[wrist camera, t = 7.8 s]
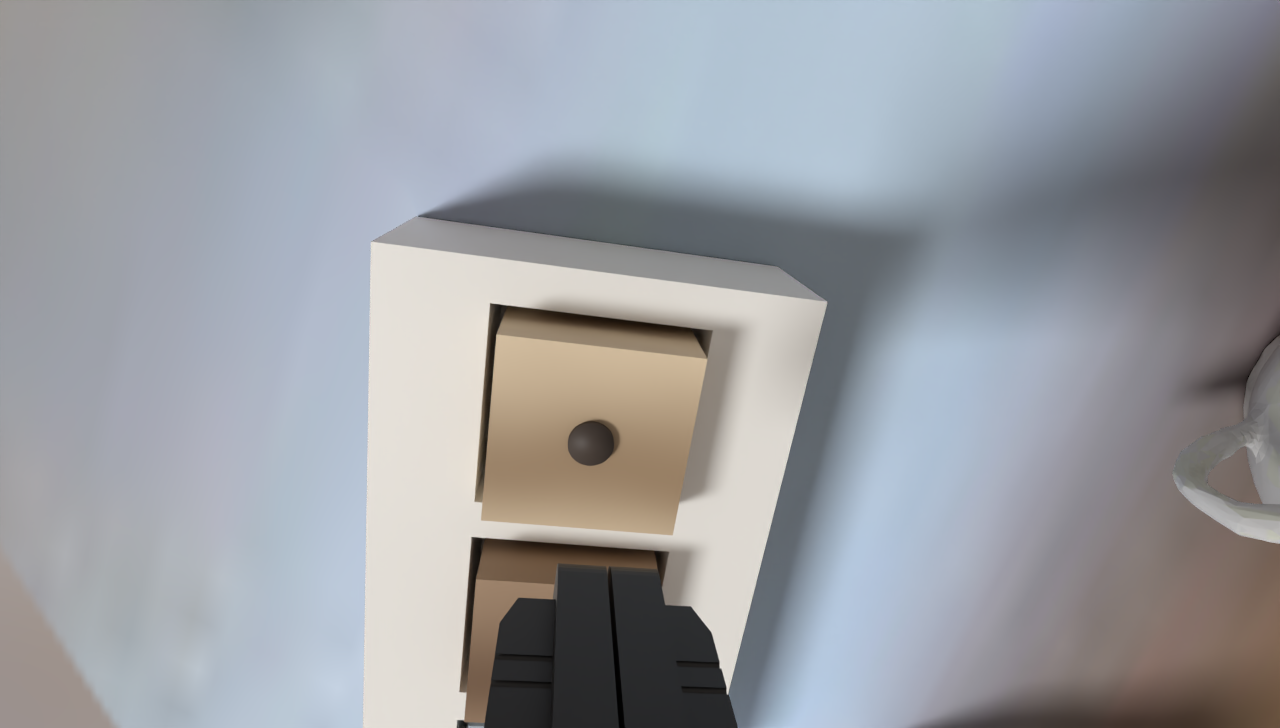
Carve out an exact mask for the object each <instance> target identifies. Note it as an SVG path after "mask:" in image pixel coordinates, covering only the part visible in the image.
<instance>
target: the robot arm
mask: <svg viewBox="0 0 1280 728" xmlns="http://www.w3.org/2000/svg"><path fill="white" fill-rule="evenodd" d="M484 728H738V727H737V723H736V720H735V716H734V712H733V709H732V705H731V701H730V698H729V695H727V687H726V683H725V680H724V676H723V672H722V669H721V668H720V661H719V658H718V654H717V651H716V647H715V643H714V640H713V636H712V632H711V631H710V630H709V629H708V627H707V626H706V625H705V624H704V622H703V621H702V620H701V619H700V617H699V616H698V615H697V613H696V612H695V611H694V610H693V608H692V607H691V606H674V605H665V601H664V596H663V591H662V586H661V580H660V576H659V572H658V570H657V569H648V568H631V567H615V566H609V568H608V570H607V568H606V566H595V565H578V564H562V563H558V564H557V569H556V577H555V585H554V593H553V599H537V598H518V599H517V600H516V601H515V603H514V604H513V605H512V607H511V608H510V609H509V611H508V612H507V613H506V615H505V616H504V617H503V619H502V620H501V621H500V623H499V630H498V637H497V643H496V650H495V658H494V663H493V670H492V677H491V684H490V690H489V697H488V703H487V710H486V716H485V723H484Z"/></svg>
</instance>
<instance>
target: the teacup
mask: <svg viewBox="0 0 1280 728" xmlns="http://www.w3.org/2000/svg"><path fill="white" fill-rule="evenodd" d="M1243 411H1244V420H1243V421H1242V422H1241V423H1239V424H1237V425H1234V426H1230V427H1226V428H1221V429H1220V430H1219V431H1216V432H1213V433H1211V434H1209V435H1206V436H1202V437H1201V438H1199V439H1198V440H1196V441H1195V442H1194V443H1192V444H1191V445H1189V446H1188V447H1187V448H1185V449H1184V450H1183V451H1181V453H1180V455H1179V457H1178V459H1177V460H1176V463H1175V467H1174V470H1173V473H1172V474H1173V478H1174V480H1175V483H1176V485H1177V487H1178V490H1179V491H1180V492H1181V493H1182V494H1183V495H1184V496H1185V497H1186V498H1187V499H1188V500H1189V501H1190V502H1191V503H1192V504H1193V505H1194V506H1196V507H1197V508H1199V509H1200V510H1201V511H1203V512H1204V513H1206V514H1207V515H1209V516H1210V517H1211V518H1213V519H1214V520H1216V521H1218V522H1219V523H1221V524H1222V525H1224V526H1226V527H1227V528H1229V529H1230V530H1232V531H1234V532H1235V533H1237V534H1238V535H1240V536H1245V537H1250V538H1254V539H1259V540H1264V541H1267V542H1273V543H1280V335H1279V336H1278V337H1277V338H1275V339H1274V340H1273V341H1272V342H1271V343H1270V344H1269V345H1268V346H1267V347H1266V348H1265V349H1264V351H1263V353H1262V355H1261V357H1260V359H1259V360H1258V362H1257V363H1256V365H1255V367H1254V368H1253V370H1252V372H1251V374H1250V375H1249V377H1248V380H1247V384H1246V392H1245V399H1244V406H1243ZM1244 446H1247V455H1248V462H1249V465H1250V469H1251V473H1252V476H1253V480H1254V484H1255V486H1256V489H1257V491H1258V493H1259V496H1260V498H1261V501H1262V503H1263V504H1252V503H1242V502H1238V501H1236V500H1234V499H1232V498H1229V497H1227V496H1225V495H1223V494H1221V493H1219V492H1218V491H1216V490H1215V489H1213V488H1211V487H1210V486H1208V485H1207V483H1208V477H1207V476H1208V474H1209V472H1210V471H1211V470H1212V469H1213V468H1214V467H1215V466H1216V465H1217V464H1218V463H1219V462H1220V461H1222V460H1224V459H1226V458H1228V457H1230V456H1232V455H1233V454H1234V453H1235V452H1236V451H1237V450H1238V449H1240V448H1242V447H1244Z"/></svg>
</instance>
